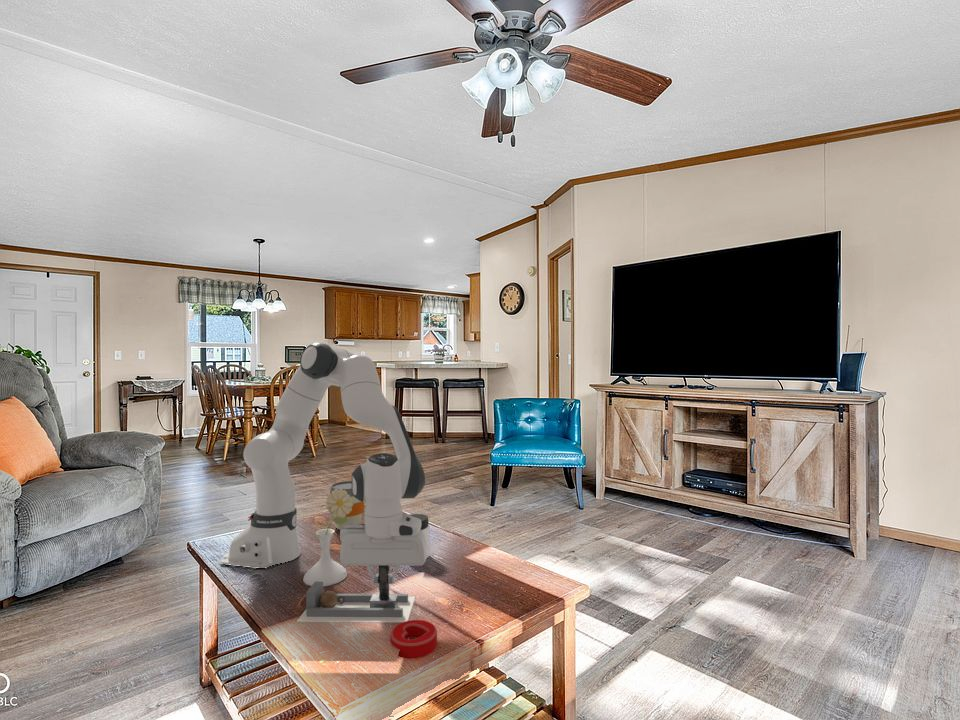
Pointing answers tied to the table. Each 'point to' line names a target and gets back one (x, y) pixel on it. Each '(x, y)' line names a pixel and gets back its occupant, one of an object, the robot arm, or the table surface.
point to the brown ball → (328, 599)
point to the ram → (384, 591)
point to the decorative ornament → (414, 647)
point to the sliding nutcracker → (353, 608)
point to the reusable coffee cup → (357, 507)
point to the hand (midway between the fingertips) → (383, 582)
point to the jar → (424, 529)
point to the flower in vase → (326, 567)
